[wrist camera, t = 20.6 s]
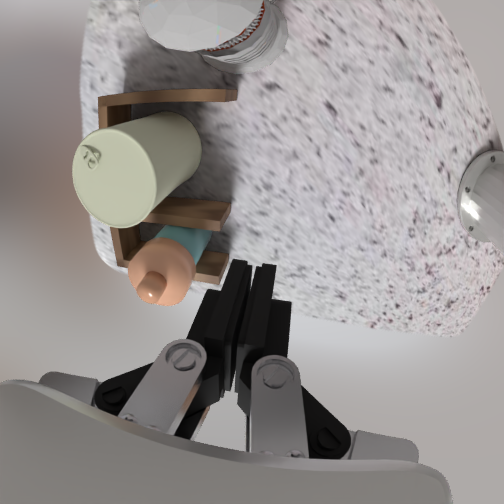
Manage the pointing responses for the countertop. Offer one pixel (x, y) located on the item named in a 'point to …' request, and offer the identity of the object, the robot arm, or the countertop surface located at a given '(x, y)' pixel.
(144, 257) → the lid
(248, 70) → the french press
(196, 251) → the jar
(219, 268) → the caddy
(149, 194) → the can
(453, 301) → the countertop surface
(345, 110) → the countertop surface
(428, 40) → the countertop surface
